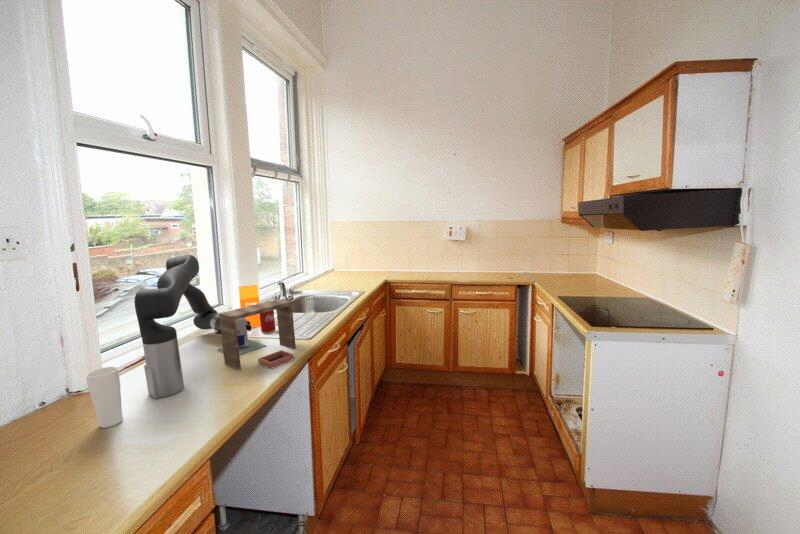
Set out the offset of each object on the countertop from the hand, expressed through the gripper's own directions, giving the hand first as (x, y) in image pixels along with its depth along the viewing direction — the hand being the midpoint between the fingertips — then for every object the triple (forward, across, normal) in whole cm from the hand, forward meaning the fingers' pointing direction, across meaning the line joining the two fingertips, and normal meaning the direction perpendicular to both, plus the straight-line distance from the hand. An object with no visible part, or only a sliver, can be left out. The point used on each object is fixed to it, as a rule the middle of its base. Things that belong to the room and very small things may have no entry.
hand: (242, 330), depth 157 cm
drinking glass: (+23, -51, +8) cm, 56 cm away
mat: (-2, 0, +8) cm, 8 cm away
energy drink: (-2, 0, +8) cm, 8 cm away
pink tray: (+23, 0, +8) cm, 24 cm away
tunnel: (+13, 0, +8) cm, 15 cm away
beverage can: (-11, +18, +8) cm, 23 cm away
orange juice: (-29, +20, +8) cm, 37 cm away
